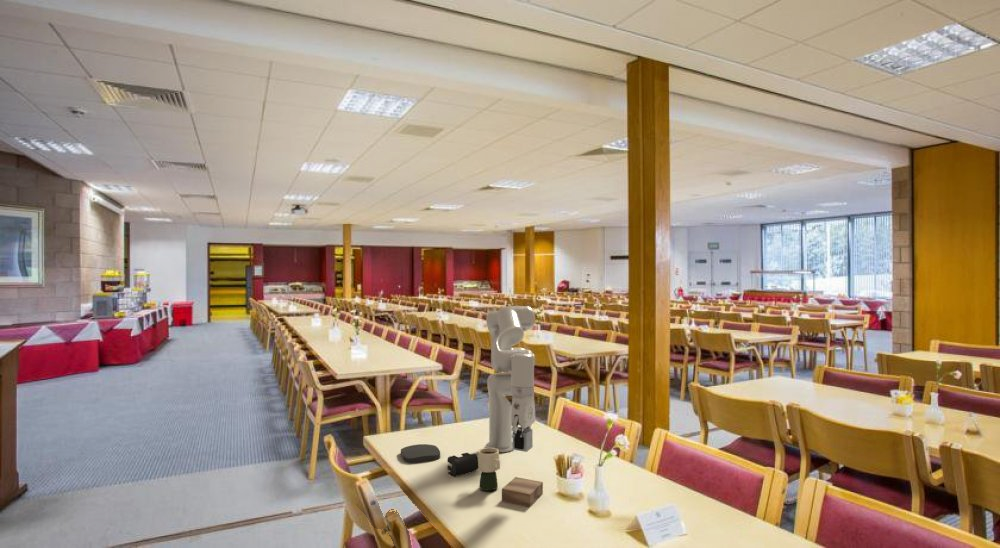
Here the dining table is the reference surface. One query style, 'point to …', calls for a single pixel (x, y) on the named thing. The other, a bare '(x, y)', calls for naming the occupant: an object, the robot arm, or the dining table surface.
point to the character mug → (488, 467)
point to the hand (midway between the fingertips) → (522, 445)
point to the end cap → (462, 464)
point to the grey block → (525, 440)
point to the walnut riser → (522, 491)
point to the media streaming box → (420, 453)
